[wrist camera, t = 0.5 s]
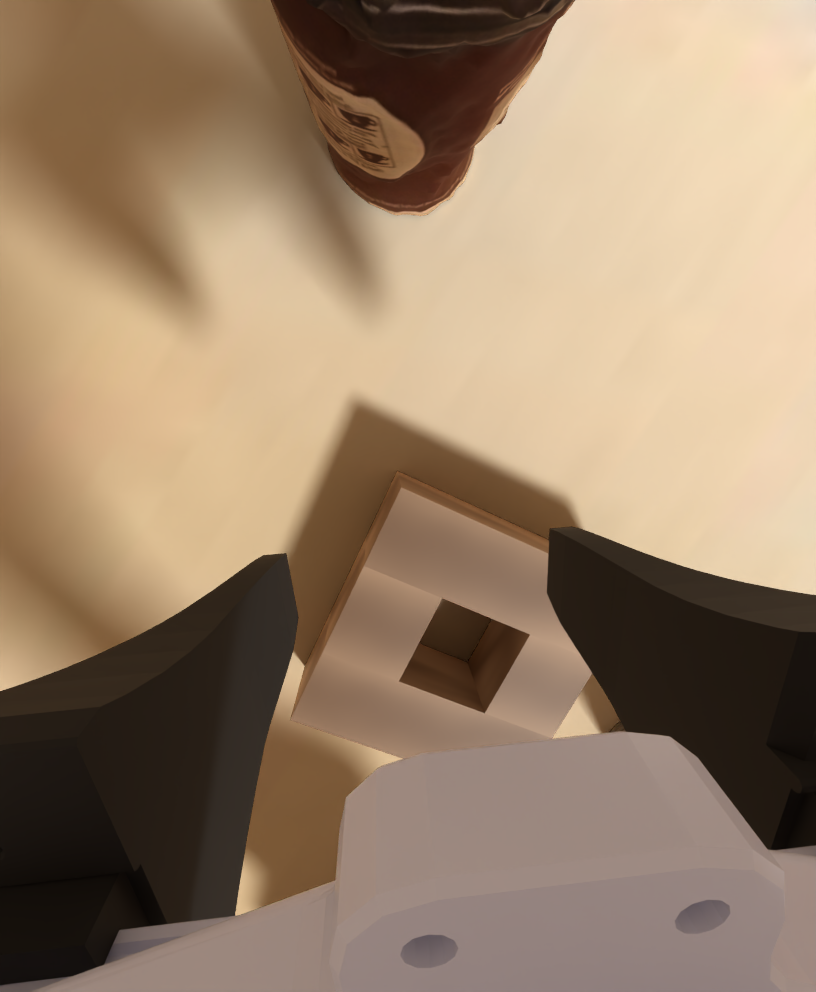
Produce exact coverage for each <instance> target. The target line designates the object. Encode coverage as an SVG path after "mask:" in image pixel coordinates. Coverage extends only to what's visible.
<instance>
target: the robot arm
mask: <svg viewBox="0 0 816 992" xmlns="http://www.w3.org/2000/svg"><path fill="white" fill-rule="evenodd" d="M547 595H548V597H549V599H550V602H551V604H552V606H553V609H554V611H555V613H556V615H557V617H558V619H559V621H560V623H561V625H562V627H563V628H564V630H565V631H566V633H567V635H568V636H569V638H570V639H571V641H572V642H573V644H574V646H575V647H576V649H577V650H578V652H579V653H580V655H581V656H582V658H583V659H584V661H585V663H586V664H587V666H588V667H589V669H590V670H591V672H592V673H593V675H594V676H595V678H596V679H597V681H598V683H599V684H600V686H601V687H602V689H603V690H604V692H605V694H606V695H607V697H608V699H609V700H610V702H611V704H612V705H613V707H614V709H615V711H616V713H617V715H618V717H619V719H620V721H621V723H622V725H623V727H624V729H625V731H626V732H623V731H618V732H609V733H600V734H591V735H582V736H573V737H564V738H555V739H546V740H537V741H528V742H518V743H509V744H500V745H491V746H482V747H473V748H464V749H455V750H446V751H437V752H428V753H421V754H418V755H415V756H411V757H408V758H405V759H402V760H399V761H395V762H392V763H389V764H386V765H383V766H381V767H379V768H377V769H376V770H375V771H374V772H373V773H372V774H371V775H370V776H368V777H367V778H366V779H365V780H364V781H363V782H362V783H361V784H360V785H359V786H358V787H356V788H355V789H354V790H353V791H352V792H351V793H350V794H349V795H348V796H347V797H346V800H345V805H344V810H343V815H342V820H341V825H340V830H339V843H338V855H337V867H336V880H335V881H332V882H329V883H326V884H324V885H321V886H318V887H315V888H313V889H310V890H307V891H304V892H302V893H299V894H296V895H293V896H291V897H288V898H285V899H283V900H280V901H277V902H274V903H272V904H269V905H266V906H263V907H261V908H258V909H255V910H252V911H250V912H247V913H244V914H241V915H238V916H235V911H236V904H237V897H238V890H239V884H240V878H241V872H242V866H243V859H244V853H245V847H246V841H247V835H248V829H249V823H250V818H251V812H252V807H253V801H254V796H255V790H256V785H257V780H258V775H259V770H260V765H261V760H262V755H263V750H264V745H265V741H266V738H267V734H268V730H269V726H270V723H271V720H272V717H273V714H274V710H275V707H276V704H277V701H278V698H279V695H280V691H281V688H282V685H283V682H284V679H285V676H286V672H287V669H288V666H289V662H290V659H291V656H292V652H293V648H294V643H295V637H296V630H297V624H298V612H297V607H296V602H295V597H294V592H293V586H292V581H291V576H290V571H289V565H288V560H287V555H286V553H284V554H273V555H263V556H261V557H260V558H258V559H256V560H255V561H253V562H252V563H250V564H249V565H247V566H246V567H245V568H243V569H242V570H240V571H239V572H238V573H236V574H235V575H234V576H232V577H231V578H229V579H228V580H227V581H225V582H224V583H223V584H221V585H220V586H218V587H217V588H216V589H214V590H213V591H211V592H210V593H208V594H207V595H205V596H204V597H202V598H201V599H199V600H198V601H196V602H195V603H193V604H192V605H190V606H189V607H187V608H186V609H184V610H183V611H181V612H179V613H178V614H176V615H174V616H173V617H171V618H169V619H167V620H166V621H164V622H162V623H160V624H159V625H157V626H155V627H153V628H151V629H149V630H148V631H146V632H144V633H142V634H140V635H138V636H136V637H134V638H132V639H130V640H128V641H126V642H123V643H121V644H119V645H117V646H115V647H113V648H111V649H108V650H106V651H104V652H102V653H100V654H98V655H95V656H93V657H91V658H89V659H86V660H84V661H81V662H79V663H77V664H74V665H72V666H69V667H67V668H64V669H62V670H59V671H56V672H54V673H51V674H48V675H46V676H43V677H40V678H38V679H35V680H32V681H30V682H27V683H24V684H21V685H18V686H15V687H12V688H9V689H6V690H3V691H0V992H816V595H810V594H803V593H797V592H791V591H785V590H779V589H774V588H769V587H764V586H759V585H754V584H749V583H744V582H740V581H735V580H731V579H727V578H723V577H719V576H715V575H712V574H708V573H704V572H701V571H697V570H693V569H690V568H687V567H683V566H680V565H677V564H674V563H671V562H668V561H665V560H662V559H659V558H656V557H653V556H651V555H648V554H645V553H643V552H640V551H637V550H635V549H632V548H629V547H627V546H624V545H622V544H619V543H617V542H614V541H612V540H609V539H607V538H604V537H601V536H599V535H596V534H594V533H591V532H588V531H585V530H582V529H579V528H575V527H563V528H552V529H550V532H549V553H548V575H547Z"/></svg>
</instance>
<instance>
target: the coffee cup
mask: <svg viewBox="0 0 816 992" xmlns="http://www.w3.org/2000/svg"><path fill="white" fill-rule="evenodd" d="M574 1H575V0H271V2H272V5H273V7H274V10H275V12H276V15H277V18H278V21H279V24H280V27H281V30H282V33H283V36H284V38H285V41H286V43H287V46H288V49H289V52H290V54H291V57H292V60H293V63H294V66H295V68H296V71H297V73H298V76H299V79H300V81H301V83H302V85H303V88H304V91H305V94H306V97H307V99H308V102H309V105H310V108H311V110H312V113H313V115H314V117H315V120H316V122H317V124H318V127H319V129H320V130H321V132H322V133H323V135H324V136H325V138H326V140H327V142H328V148H329V152H330V154H331V157H332V160H333V162H334V165H335V167H336V169H337V171H338V173H339V174H340V176H341V177H342V179H343V180H344V181H345V182H346V183H347V184H348V185H349V187H350V188H351V189H352V190H353V191H354V192H355V193H356V194H357V195H359V196H360V197H361V198H363V199H364V200H365V201H367V202H368V203H369V204H371V205H374V206H376V207H378V208H381V209H383V210H385V211H387V212H389V213H391V214H394V215H402V214H409V215H419V216H422V215H428V214H429V213H430V212H432V211H433V210H434V209H435V208H437V207H438V205H439V204H441V203H443V202H444V201H446V200H449V199H450V198H451V197H453V195H454V192H455V191H456V189H457V188H458V187H459V186H460V185H461V184H462V183H463V182H464V181H465V178H466V175H467V172H468V170H469V168H470V165H471V162H472V158H473V154H474V148H475V145H476V144H477V143H479V142H480V141H481V140H482V139H483V138H484V137H485V135H487V134H488V133H489V132H490V131H491V130H492V129H493V128H494V127H495V126H496V125H498V124H501V122H502V121H503V119H504V117H505V116H506V113H507V109H508V107H509V104H510V103H511V101H512V100H513V99H514V97H515V96H516V94H517V93H518V92H519V90H520V89H521V88H522V87H523V85H524V84H525V83H526V81H527V80H528V78H529V76H530V74H531V72H532V70H533V68H534V67H535V65H536V64H537V62H538V61H539V60H540V58H541V56H542V52H543V49H544V46H545V44H546V42H547V38H548V36H549V34H550V32H551V30H552V27H553V26H554V24H555V23H556V21H557V19H559V18H560V17H562V16H563V15H564V14H565V13H566V12H567V10H568V9H569V8H570V7H571V5H572V4H573V2H574Z"/></svg>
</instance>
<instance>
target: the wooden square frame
mask: <svg viewBox="0 0 816 992" xmlns="http://www.w3.org/2000/svg"><path fill="white" fill-rule="evenodd" d="M548 553H549V540H548V539H545V538H543V537H541V536H539V535H537V534H535V533H532V532H530V531H528V530H526V529H524V528H521V527H519V526H517V525H515V524H513V523H510V522H508V521H506V520H504V519H502V518H499V517H497V516H495V515H493V514H491V513H489V512H486V511H484V510H482V509H480V508H478V507H475V506H473V505H471V504H469V503H467V502H464V501H462V500H460V499H458V498H456V497H453V496H451V495H449V494H447V493H445V492H442V491H440V490H438V489H436V488H434V487H432V486H429V485H427V484H425V483H423V482H421V481H418V480H416V479H414V478H412V477H410V476H407V475H405V474H403V473H401V472H399V471H397V472H396V475H395V477H394V479H393V481H392V483H391V485H390V487H389V489H388V491H387V494H386V496H385V498H384V500H383V502H382V504H381V506H380V508H379V511H378V513H377V515H376V517H375V519H374V521H373V523H372V525H371V527H370V530H369V532H368V534H367V536H366V538H365V540H364V542H363V544H362V547H361V549H360V551H359V553H358V555H357V557H356V559H355V561H354V563H353V566H352V568H351V570H350V572H349V574H348V576H347V578H346V580H345V582H344V585H343V587H342V589H341V591H340V593H339V595H338V597H337V599H336V602H335V604H334V606H333V608H332V610H331V612H330V614H329V616H328V618H327V621H326V623H325V625H324V627H323V629H322V631H321V633H320V635H319V638H318V640H317V642H316V644H315V646H314V648H313V650H312V652H311V654H310V657H309V659H308V661H307V663H306V665H305V667H304V671H303V675H302V679H301V682H300V686H299V690H298V693H297V697H296V701H295V704H294V708H293V712H292V715H291V719H290V720H291V721H294V722H297V723H300V724H303V725H306V726H309V727H312V728H315V729H318V730H321V731H323V732H326V733H329V734H332V735H335V736H338V737H341V738H344V739H347V740H350V741H353V742H356V743H359V744H362V745H365V746H367V747H370V748H373V749H376V750H379V751H382V752H385V753H388V754H391V755H394V756H397V757H400V758H403V759H405V758H408V757H411V756H415V755H418V754H421V753H428V752H437V751H446V750H455V749H464V748H473V747H482V746H491V745H500V744H509V743H518V742H528V741H537V740H546V739H552V738H553V736H554V734H555V733H556V731H557V730H558V728H559V726H560V725H561V723H562V721H563V720H564V718H565V717H566V715H567V713H568V712H569V710H570V709H571V707H572V705H573V704H574V702H575V701H576V699H577V697H578V696H579V694H580V692H581V691H582V689H583V688H584V686H585V684H586V683H587V681H588V680H589V678H590V676H591V675H592V672H591V670H590V669H589V667H588V666H587V664H586V663H585V661H584V659H583V658H582V656H581V655H580V653H579V652H578V650H577V649H576V647H575V646H574V644H573V642H572V641H571V639H570V638H569V636H568V635H567V633H566V631H565V630H564V628H563V627H562V625H561V623H560V621H559V619H558V617H557V615H556V613H555V611H554V609H553V606H552V604H551V602H550V599H549V597H548V595H547V575H548ZM442 598H443V599H445V600H448V601H450V602H452V603H455V604H457V605H460V606H462V607H465V608H467V609H469V610H472V611H474V612H477V613H479V614H482V615H484V616H486V617H489V618H491V621H490V623H489V625H488V627H487V629H486V630H485V632H484V634H483V636H482V638H481V639H480V641H479V643H478V645H477V647H476V648H475V650H474V652H473V654H472V656H471V657H470V659H469V661H468V662H465V661H463V660H460V659H458V658H455V657H452V656H450V655H447V654H445V653H442V652H440V651H437V650H434V649H432V648H429V647H427V646H424V645H422V644H419V642H420V640H421V638H422V636H423V634H424V632H425V631H426V629H427V627H428V625H429V623H430V621H431V619H432V617H433V615H434V613H435V611H436V610H437V608H438V606H439V604H440V602H441V600H442Z"/></svg>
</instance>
